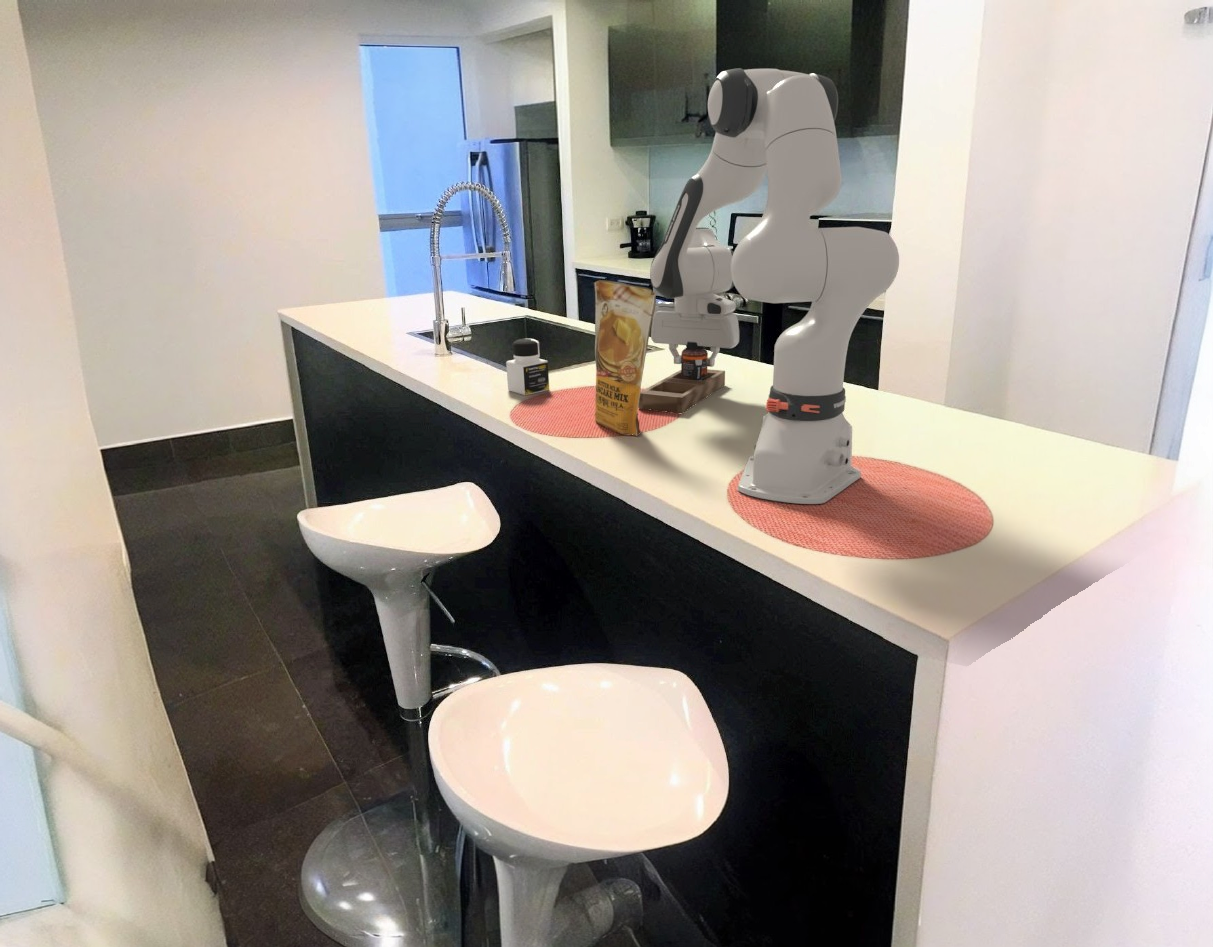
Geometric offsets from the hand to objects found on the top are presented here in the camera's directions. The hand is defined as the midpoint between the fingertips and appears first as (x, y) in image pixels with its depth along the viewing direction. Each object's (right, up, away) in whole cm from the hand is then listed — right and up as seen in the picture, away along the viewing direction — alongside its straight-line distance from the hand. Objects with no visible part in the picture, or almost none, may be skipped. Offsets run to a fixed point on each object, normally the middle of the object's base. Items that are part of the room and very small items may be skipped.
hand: (694, 364), depth 189 cm
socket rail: (-3, -8, -3) cm, 8 cm away
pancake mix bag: (-17, -15, -23) cm, 32 cm away
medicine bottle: (-38, -5, +7) cm, 39 cm away
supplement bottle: (0, -5, +2) cm, 6 cm away
